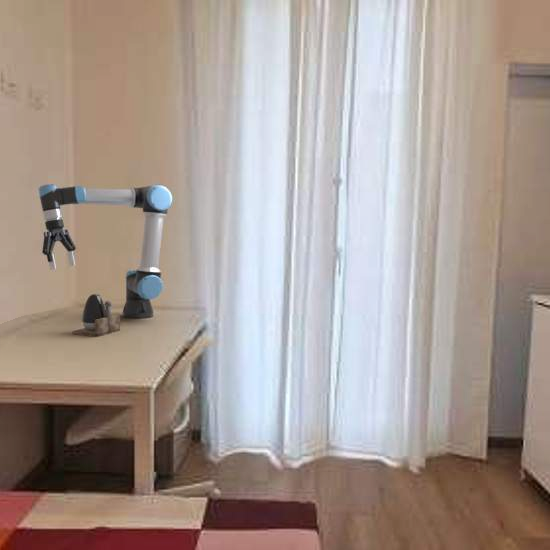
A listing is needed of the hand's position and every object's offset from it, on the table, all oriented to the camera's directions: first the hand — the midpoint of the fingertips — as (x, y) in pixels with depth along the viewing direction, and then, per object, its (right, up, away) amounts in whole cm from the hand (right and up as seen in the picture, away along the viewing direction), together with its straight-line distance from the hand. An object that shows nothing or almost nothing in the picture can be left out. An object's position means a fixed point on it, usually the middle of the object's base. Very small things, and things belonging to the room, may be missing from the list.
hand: (63, 267), depth 286 cm
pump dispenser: (+16, -27, -9) cm, 33 cm away
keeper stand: (+17, -28, -9) cm, 34 cm away
